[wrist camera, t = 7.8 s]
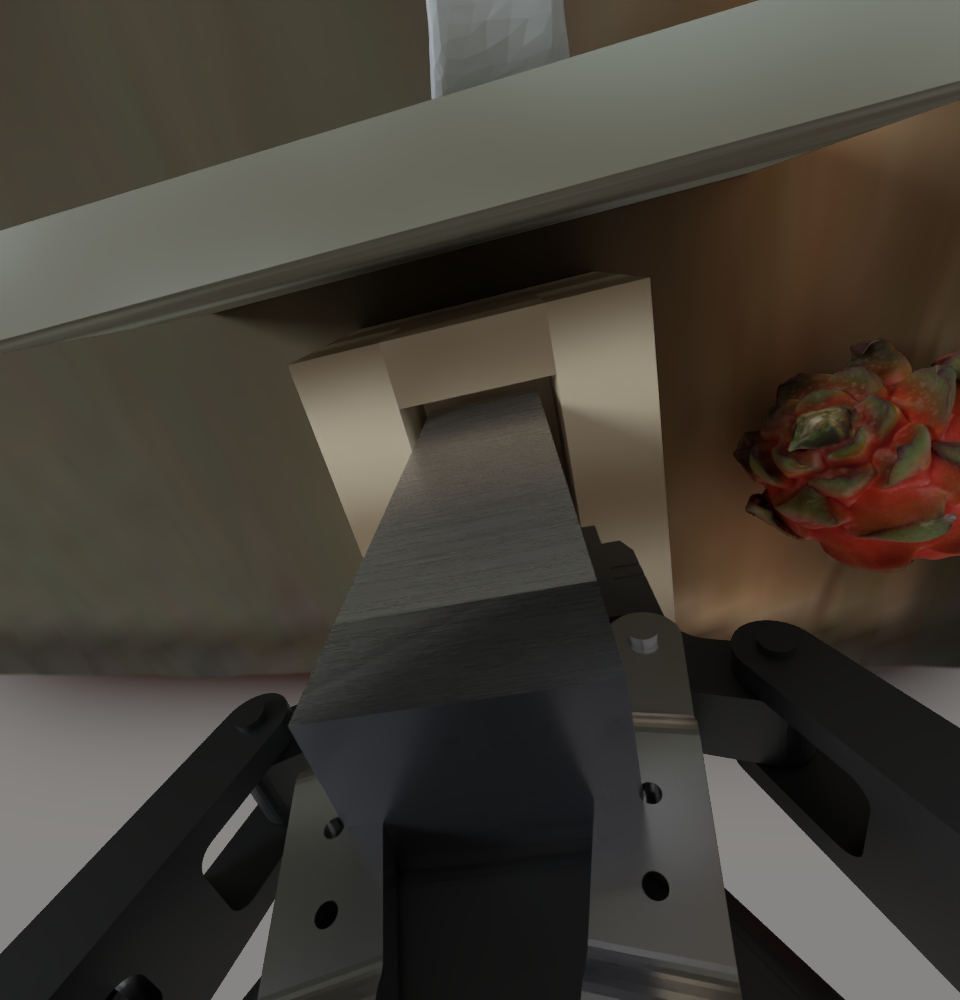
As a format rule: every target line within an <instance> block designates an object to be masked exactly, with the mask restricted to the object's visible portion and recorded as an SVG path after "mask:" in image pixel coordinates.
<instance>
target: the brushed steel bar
mask: <svg viewBox="0 0 960 1000" xmlns="http://www.w3.org/2000/svg"><path fill="white" fill-rule="evenodd" d="M288 727H289V729H290V731H291V733H292V734H293V736H294V738H295V740H296V742H297V743H298V745H299V747H300V749H301V750H302V752H303V754H304V756H305V757H306V759H307V761H308V763H309V765H310V766H311V768H312V770H313V772H314V773H315V775H316V777H317V779H318V780H319V782H320V784H321V786H322V787H323V789H324V791H325V793H326V795H327V796H328V798H329V800H330V802H331V803H332V805H333V807H334V809H335V810H336V812H337V814H338V816H339V818H340V819H341V821H342V823H343V825H344V826H345V827H349V826H358V825H367V824H376V823H383V824H384V826H385V828H386V830H387V832H388V834H389V836H390V838H391V840H392V842H393V844H394V846H395V850H396V857H404V856H413V855H423V854H433V853H443V852H453V851H463V850H473V849H483V848H493V847H503V846H513V845H522V844H532V843H542V842H552V841H562V840H572V839H582V838H592V837H593V819H594V799H602V798H611V797H620V796H629V795H638V794H639V796H640V798H641V799H642V800H643V801H644V798H643V790H642V783H641V775H640V768H639V761H638V753H637V746H636V738H635V731H634V724H633V716H632V709H631V701H630V694H629V687H628V679H627V676H626V672H625V669H624V666H623V663H622V660H621V656H620V653H619V650H618V647H617V644H616V640H615V637H614V634H613V631H612V627H611V624H610V621H609V618H608V615H607V611H606V608H605V605H604V602H603V599H602V595H601V592H600V589H599V586H598V583H597V579H596V576H595V573H594V570H593V566H592V563H591V560H590V557H589V554H588V550H587V547H586V544H585V541H584V538H583V534H582V531H581V528H580V525H579V522H578V518H577V515H576V512H575V509H574V505H573V502H572V499H571V496H570V493H569V489H568V486H567V483H566V480H565V477H564V473H563V470H562V467H561V464H560V461H559V457H558V454H557V451H556V448H555V444H554V441H553V438H552V435H551V432H550V428H549V425H548V422H547V419H546V416H545V412H544V409H543V406H542V403H541V400H540V396H539V393H538V390H537V388H534V389H529V390H525V391H520V392H516V393H511V394H507V395H502V396H498V397H493V398H488V399H484V400H479V401H475V402H470V403H466V404H461V405H457V406H452V407H447V408H443V409H438V410H434V411H430V413H429V415H428V417H427V419H426V422H425V424H424V426H423V428H422V431H421V433H420V435H419V437H418V439H417V442H416V444H415V446H414V448H413V450H412V453H411V455H410V457H409V459H408V461H407V464H406V466H405V468H404V470H403V473H402V475H401V477H400V479H399V481H398V484H397V486H396V488H395V490H394V492H393V495H392V497H391V499H390V501H389V503H388V506H387V508H386V510H385V512H384V515H383V517H382V519H381V521H380V523H379V526H378V528H377V530H376V532H375V534H374V537H373V539H372V541H371V543H370V546H369V548H368V550H367V552H366V554H365V557H364V559H363V561H362V563H361V565H360V568H359V570H358V572H357V574H356V576H355V579H354V581H353V583H352V585H351V588H350V590H349V592H348V594H347V596H346V599H345V601H344V603H343V605H342V607H341V610H340V612H339V614H338V616H337V618H336V621H335V623H334V625H333V627H332V630H331V632H330V634H329V636H328V638H327V641H326V643H325V645H324V647H323V649H322V652H321V654H320V656H319V658H318V660H317V663H316V665H315V667H314V669H313V672H312V674H311V676H310V678H309V680H308V683H307V685H306V687H305V689H304V691H303V694H302V696H301V698H300V700H299V703H298V705H297V707H296V709H295V711H294V714H293V716H292V718H291V720H290V722H289V725H288Z"/></svg>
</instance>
